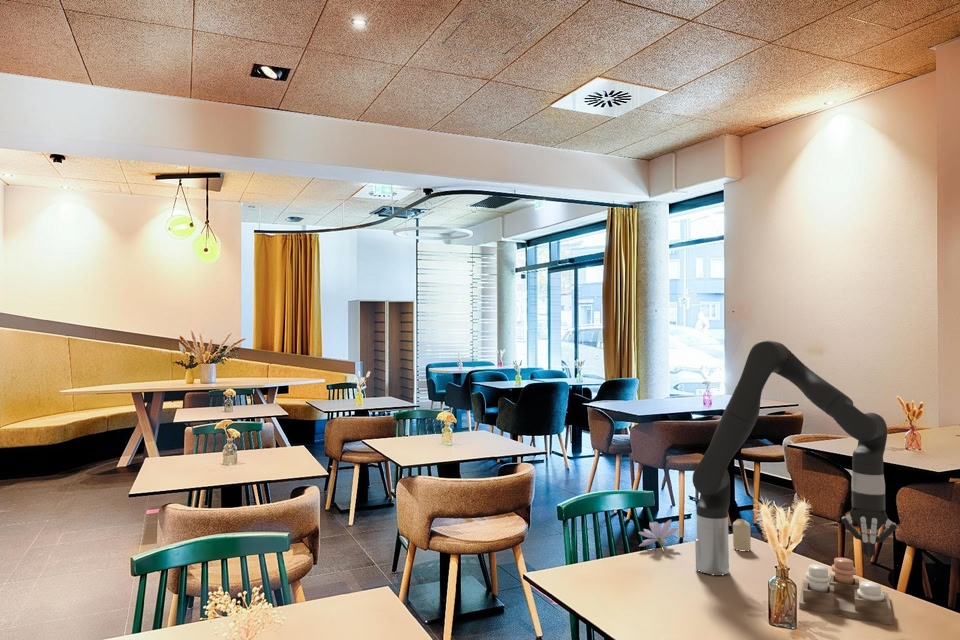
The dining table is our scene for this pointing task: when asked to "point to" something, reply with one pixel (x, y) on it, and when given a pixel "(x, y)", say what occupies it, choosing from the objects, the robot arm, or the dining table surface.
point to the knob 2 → (870, 591)
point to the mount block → (845, 602)
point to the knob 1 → (818, 578)
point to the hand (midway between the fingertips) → (869, 556)
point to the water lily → (657, 533)
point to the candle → (741, 535)
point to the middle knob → (843, 570)
